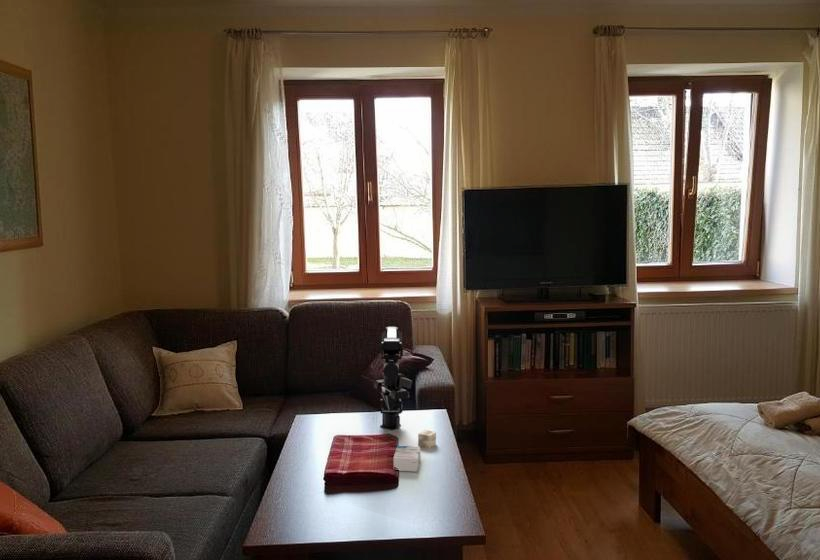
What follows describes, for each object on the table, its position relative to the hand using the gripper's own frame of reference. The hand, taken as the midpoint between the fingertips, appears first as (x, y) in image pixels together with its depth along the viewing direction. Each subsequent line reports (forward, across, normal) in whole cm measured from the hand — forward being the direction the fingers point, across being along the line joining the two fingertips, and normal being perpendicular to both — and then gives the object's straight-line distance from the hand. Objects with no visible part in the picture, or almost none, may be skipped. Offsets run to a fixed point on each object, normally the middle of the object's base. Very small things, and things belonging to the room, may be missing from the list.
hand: (390, 410), depth 244 cm
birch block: (+12, -11, -10) cm, 19 cm away
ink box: (+9, -18, +2) cm, 21 cm away
